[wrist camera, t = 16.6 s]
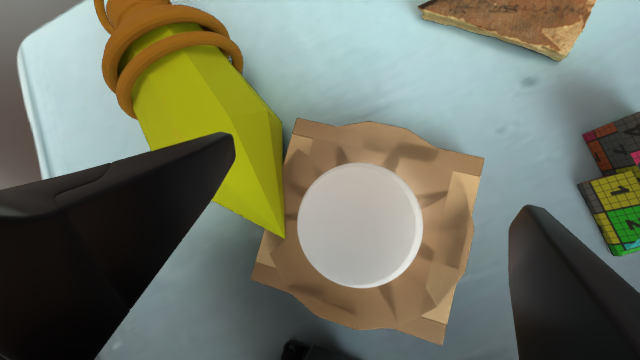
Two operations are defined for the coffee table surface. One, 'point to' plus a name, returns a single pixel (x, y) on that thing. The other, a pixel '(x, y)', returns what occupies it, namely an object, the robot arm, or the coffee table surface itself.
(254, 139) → the plumb bob
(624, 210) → the numbered block arch
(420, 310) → the socket pad
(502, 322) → the coffee table surface
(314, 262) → the pill bottle
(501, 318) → the coffee table surface
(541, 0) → the shard
